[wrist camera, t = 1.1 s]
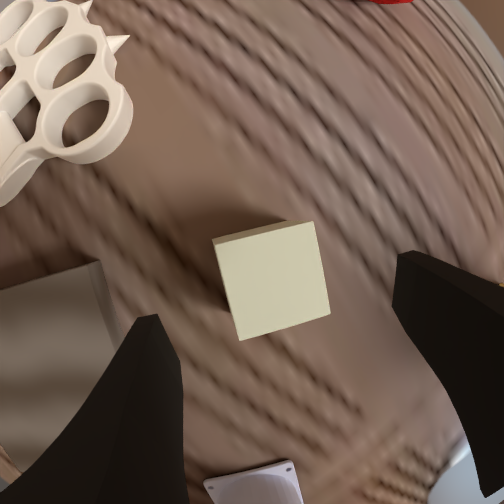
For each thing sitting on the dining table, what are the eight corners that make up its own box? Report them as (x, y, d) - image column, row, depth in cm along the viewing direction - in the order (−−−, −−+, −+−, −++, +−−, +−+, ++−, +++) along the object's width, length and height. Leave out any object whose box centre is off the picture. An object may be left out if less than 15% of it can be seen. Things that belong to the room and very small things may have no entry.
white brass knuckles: (-45, 96, 15) (71, -16, 16) (30, 240, 18) (182, 97, 19) (-65, 86, 11) (61, -36, 12) (6, 244, 15) (179, 76, 15)
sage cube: (302, 292, 21) (330, 313, 16) (230, 312, 20) (239, 340, 15) (287, 220, 20) (313, 221, 15) (211, 238, 20) (214, 245, 15)
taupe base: (174, 450, 21) (173, 470, 18) (28, 456, 19) (20, 471, 16) (100, 260, 19) (86, 265, 16) (-45, 303, 16) (-62, 310, 14)
